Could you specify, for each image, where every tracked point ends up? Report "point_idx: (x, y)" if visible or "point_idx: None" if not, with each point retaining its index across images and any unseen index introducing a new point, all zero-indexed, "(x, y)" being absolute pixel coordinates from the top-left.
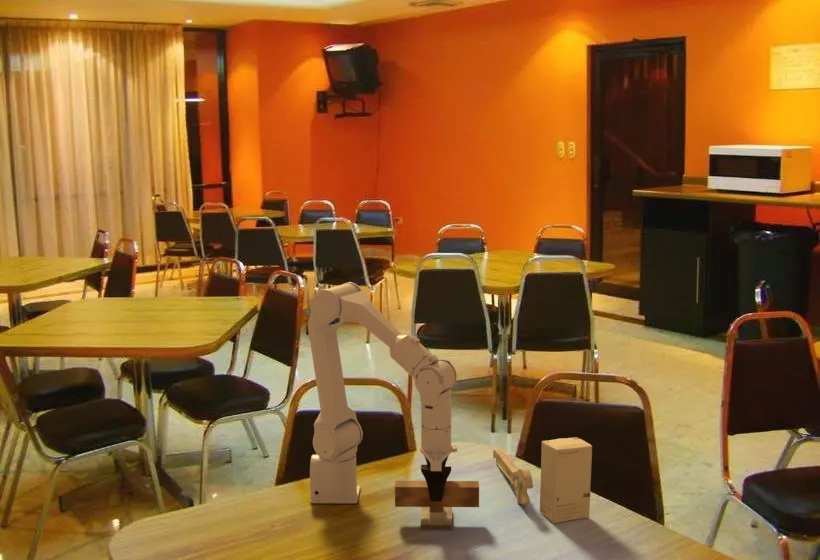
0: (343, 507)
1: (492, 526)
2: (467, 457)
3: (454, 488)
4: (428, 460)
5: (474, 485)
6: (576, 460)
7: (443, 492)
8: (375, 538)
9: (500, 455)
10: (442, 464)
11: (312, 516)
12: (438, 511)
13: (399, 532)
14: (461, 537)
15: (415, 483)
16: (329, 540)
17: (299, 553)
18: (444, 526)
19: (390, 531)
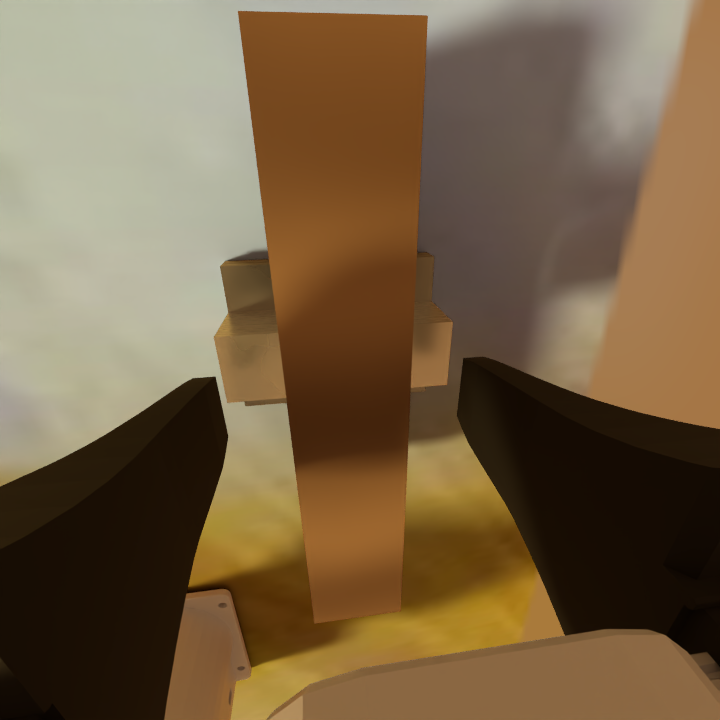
0: (258, 606)
1: (386, 5)
2: None
3: (410, 293)
4: (171, 626)
5: (372, 80)
6: None
7: (529, 375)
8: (469, 498)
9: None
10: (146, 481)
11: (328, 646)
12: (437, 345)
13: (433, 443)
14: (497, 206)
15: (346, 540)
16: (469, 587)
17: (526, 617)
18: (429, 292)
19: (424, 469)
